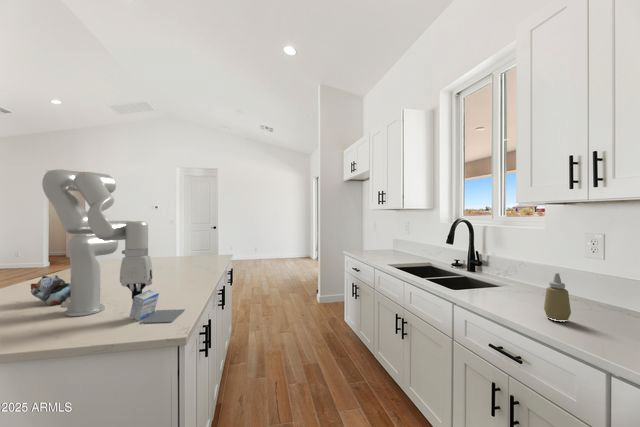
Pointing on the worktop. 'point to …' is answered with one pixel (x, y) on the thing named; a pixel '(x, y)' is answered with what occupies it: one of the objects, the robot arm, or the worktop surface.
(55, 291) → the blue crumpled lump
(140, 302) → the medicine box
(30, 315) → the worktop surface
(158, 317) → the mat
